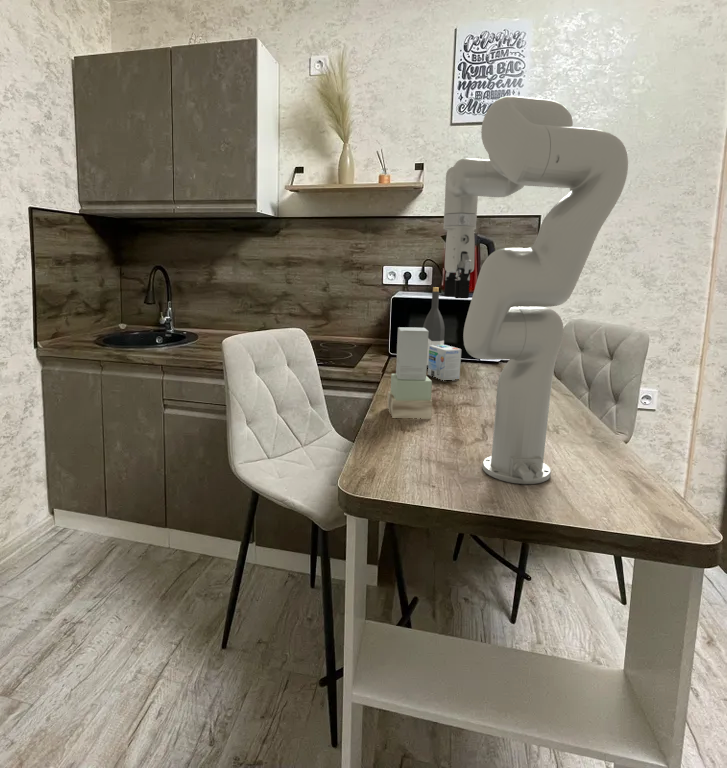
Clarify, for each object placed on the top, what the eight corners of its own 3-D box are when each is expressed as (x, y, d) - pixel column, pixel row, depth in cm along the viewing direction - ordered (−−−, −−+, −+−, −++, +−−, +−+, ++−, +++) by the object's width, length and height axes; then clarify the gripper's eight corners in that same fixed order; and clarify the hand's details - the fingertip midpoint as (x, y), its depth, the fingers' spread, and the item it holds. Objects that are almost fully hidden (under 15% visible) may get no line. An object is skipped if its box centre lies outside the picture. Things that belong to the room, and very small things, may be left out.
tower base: (431, 420, 132) (432, 401, 131) (392, 420, 131) (393, 401, 130) (423, 409, 142) (424, 391, 141) (387, 409, 141) (388, 391, 140)
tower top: (431, 400, 132) (432, 381, 131) (396, 400, 131) (396, 381, 130) (423, 391, 141) (424, 373, 140) (390, 391, 140) (391, 373, 139)
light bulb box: (427, 375, 184) (428, 345, 181) (443, 373, 187) (444, 344, 184) (443, 381, 174) (445, 349, 172) (460, 380, 177) (462, 348, 175)
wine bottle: (446, 368, 196) (451, 287, 189) (430, 370, 191) (434, 288, 185) (433, 364, 202) (437, 286, 195) (416, 366, 198) (420, 286, 191)
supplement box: (426, 380, 131) (429, 331, 128) (397, 379, 131) (399, 330, 128) (423, 374, 139) (425, 327, 136) (395, 373, 138) (397, 326, 136)
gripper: (487, 220, 113) (482, 299, 117) (465, 226, 130) (461, 295, 134) (453, 219, 112) (449, 298, 116) (435, 226, 129) (432, 295, 133)
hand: (455, 297), depth 125 cm, fingers open, 9 cm apart
